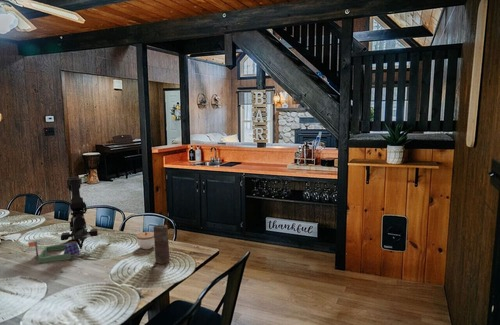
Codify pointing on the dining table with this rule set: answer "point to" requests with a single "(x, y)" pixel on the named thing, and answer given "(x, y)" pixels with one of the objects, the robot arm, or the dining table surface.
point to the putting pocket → (50, 248)
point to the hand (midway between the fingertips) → (81, 248)
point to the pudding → (71, 249)
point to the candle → (161, 244)
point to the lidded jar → (145, 240)
